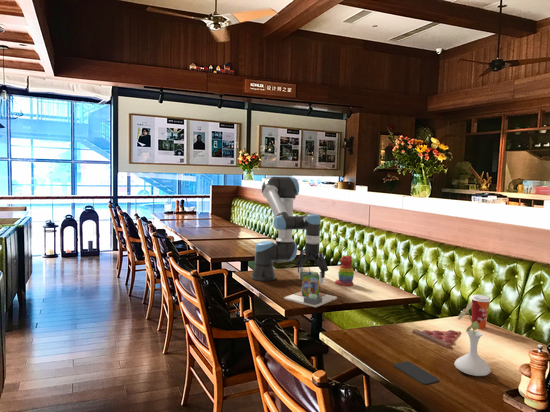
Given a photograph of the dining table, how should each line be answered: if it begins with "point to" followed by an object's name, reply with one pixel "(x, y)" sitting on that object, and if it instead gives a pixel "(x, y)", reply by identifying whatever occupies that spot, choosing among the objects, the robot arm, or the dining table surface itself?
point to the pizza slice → (439, 336)
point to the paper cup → (480, 309)
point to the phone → (416, 373)
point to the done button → (313, 296)
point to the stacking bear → (345, 272)
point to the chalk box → (310, 283)
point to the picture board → (310, 302)
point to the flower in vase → (472, 351)
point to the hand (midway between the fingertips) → (310, 281)
